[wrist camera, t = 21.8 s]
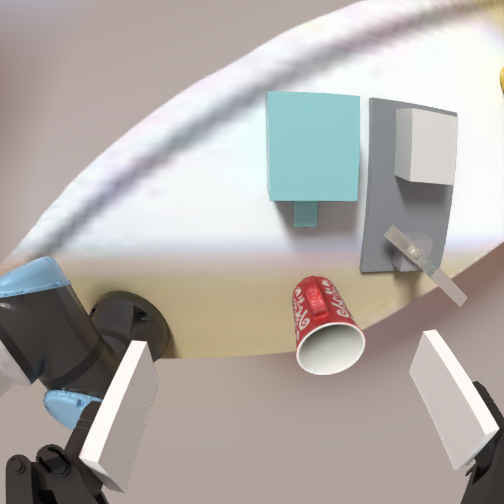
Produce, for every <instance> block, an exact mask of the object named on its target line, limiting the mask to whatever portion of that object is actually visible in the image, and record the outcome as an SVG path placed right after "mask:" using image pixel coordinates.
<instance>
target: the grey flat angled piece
mask: <svg viewBox="0 0 504 504" xmlns="http://www.w3.org/2000/svg"><path fill="white" fill-rule="evenodd" d="M384 236H385V237H386V238H387V239H388V240H389V241H390V242H392V243H393V244H394V245H395V246H396V247H397V248H398V249H400V250H401V251H402V252H403V253H404V254H405V255H406V256H407V257H409V258H410V259H411V260H412V261H413V262H414V263H415V264H417V265H418V266H419V267H420V268H421V269H422V270H423V271H424V272H425V273H426V274H427V275H428V276H429V277H430V278H431V279H432V280H433V281H434V282H435V283H436V284H437V285H438V286H439V287H440V288H441V289H442V290H443V291H444V292H445V293H446V294H448V296H449V297H451V299H452V300H453V301H455V302H456V304H457V305H459V307H460V306H461V305H462V304H463V303H464V302H465V300H466V299H467V297H466V295H465V294H464V293H463V292H462V291H461V290H460V289H459V288H458V287H457V286H456V285H455V284H454V283H453V282H452V280H451V279H450V278H449V277H448V276H447V275H446V274H445V273H444V272H443V271H442V270H441V269H440V268H439V267H438V266H437V265H436V264H435V263H433V262H432V261H431V260H430V259H429V258H428V257H427V256H426V255H425V254H424V253H423V252H422V251H421V250H420V249H419V248H418V247H417V246H416V245H415V244H414V243H413V242H412V241H411V240H409V239H408V238H407V237H406V236H405V235H404V234H403V233H402V232H401V231H400V230H399V229H398V228H396V227H395V226H394V225H393V224H392V226H391V227H390V228H389V229H388V231H387V232H386V233H385V234H384Z"/></svg>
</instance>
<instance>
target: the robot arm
mask: <svg viewBox="0 0 504 504" xmlns="http://www.w3.org/2000/svg"><path fill="white" fill-rule="evenodd" d="M168 337H169V333H168V328H167V324H166V322H165V320H164V318H163V316H162V315H161V314H160V312H159V311H158V310H157V309H156V308H155V307H154V306H153V305H152V304H151V303H149V302H148V301H147V300H145V299H144V298H142V297H140V296H138V295H135V294H132V293H129V292H123V291H114V292H109V293H107V294H105V295H103V296H102V297H100V298H99V299H98V301H97V302H96V303H95V304H94V306H93V307H92V309H91V311H90V314H89V315H88V314H87V312H86V311H85V309H84V307H83V305H82V304H81V302H80V300H79V299H78V297H77V295H76V293H75V291H74V290H73V288H72V286H71V282H70V280H68V279H67V278H66V276H65V275H64V273H63V271H62V270H61V268H60V266H59V264H58V263H57V262H56V260H54V259H53V258H51V257H41V258H38V259H36V260H33V261H31V262H29V263H27V264H24V265H22V266H20V267H18V268H16V269H14V270H12V271H10V272H8V273H6V274H4V275H2V276H0V398H1V397H2V396H3V395H4V394H5V392H7V391H8V390H9V389H10V388H11V387H12V385H16V384H19V385H25V386H30V385H32V383H33V382H34V381H35V380H37V378H38V379H39V380H40V381H41V382H42V384H43V385H44V386H45V387H46V388H47V390H48V392H46V393H45V394H44V405H45V408H46V410H47V411H48V412H49V414H51V416H53V418H55V419H56V420H57V421H58V422H60V423H61V424H63V425H64V426H66V427H67V428H69V429H71V430H73V432H72V434H71V436H70V439H69V441H68V443H67V445H66V447H65V450H63V449H62V448H61V447H59V446H58V445H54V444H50V445H46V446H44V447H42V448H41V449H40V450H39V451H38V452H37V456H36V462H31V461H30V460H29V459H28V458H27V457H25V456H24V455H14V456H12V457H11V458H10V459H9V460H8V462H7V465H6V504H109V503H108V501H107V499H106V497H105V495H104V493H103V492H102V491H101V488H102V485H103V484H104V485H105V486H106V487H107V488H108V489H110V490H114V491H118V492H122V493H126V490H127V487H128V483H129V479H130V476H131V472H132V469H133V465H134V462H135V458H136V455H137V451H138V448H139V444H140V441H141V438H142V435H143V431H144V428H145V425H146V422H147V418H148V415H149V412H150V409H151V406H152V403H153V400H154V396H155V393H156V390H157V387H158V384H159V380H158V377H157V374H156V371H155V367H154V364H153V363H154V362H155V361H156V360H157V359H159V358H160V357H161V355H162V354H163V352H164V350H165V348H166V345H167V342H168ZM409 373H410V375H411V376H412V378H413V380H414V383H415V385H416V387H417V389H418V391H419V393H420V394H421V397H422V399H423V400H424V403H425V405H426V407H427V409H428V411H429V414H430V416H431V418H432V420H433V422H434V424H435V426H436V429H437V431H438V433H439V435H440V438H441V440H442V442H443V445H444V447H445V449H446V452H447V454H448V457H449V459H450V461H451V464H452V466H453V469H454V470H457V469H459V468H462V467H464V466H467V465H468V464H469V463H470V462H471V461H472V460H473V459H474V458H475V460H476V463H475V464H474V465H473V466H472V467H471V468H470V470H469V471H467V473H466V476H467V475H469V473H471V472H472V473H471V476H470V480H469V482H468V485H467V488H466V491H465V493H464V496H463V499H462V501H461V504H504V418H503V416H502V414H501V412H500V411H499V409H498V407H497V406H496V404H495V403H494V401H493V399H492V398H491V397H490V395H489V393H488V392H487V390H486V388H485V387H484V386H482V385H481V384H480V383H479V382H478V381H475V382H471V381H470V379H469V377H468V376H467V374H466V373H465V371H464V370H463V368H462V367H461V365H460V364H459V362H458V361H457V359H456V358H455V357H454V355H453V354H452V352H451V351H450V349H449V348H448V346H447V345H446V343H445V342H444V340H443V339H442V338H441V336H440V335H439V333H438V332H437V331H436V330H430V331H424V332H423V334H422V337H421V340H420V343H419V346H418V349H417V352H416V355H415V357H414V360H413V362H412V365H411V368H410V371H409Z"/></svg>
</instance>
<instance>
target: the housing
mask: <svg viewBox="0 0 504 504" xmlns="http://www.w3.org/2000/svg"><path fill="white" fill-rule="evenodd" d="M457 127H458V117H457V113H455V112H450V111H446V110H442V109H437V108H432V107H427V106H422V105H417V104H411V103H406V102H399V101H393V100H386V99H379V98H369V165H368V185H367V200H366V213H365V224H364V235H363V244H362V253H361V261H360V270H361V272H376V271H400V272H403V271H423V270H422V269H421V268H420V267H419V266H418V265H417V264H415V263H414V262H413V261H412V260H411V259H410V258H409V257H407V256H406V255H405V254H404V253H403V252H402V251H401V250H400V249H398V248H397V247H396V246H395V245H394V244H393V243H392V242H390V241H389V240H388V239H387V238H386V237H385V236H384V234H385V233H386V232H387V231H388V229H389V228H390V227H391V226H392V224H393V225H394V226H395V227H396V228H398V229H399V230H400V231H401V232H402V233H403V234H404V235H405V236H406V237H407V238H408V239H409V240H411V241H412V242H413V243H414V244H415V245H416V246H417V247H418V248H419V249H420V250H421V251H422V252H423V253H424V254H425V255H426V256H427V257H428V258H429V259H430V260H431V261H432V262H433V263H435V264H436V265H437V266H438V267H439V268H440V264H441V260H442V255H443V250H444V245H445V240H446V234H447V229H448V222H449V216H450V209H451V202H452V194H453V185H454V179H455V168H456V154H457Z"/></svg>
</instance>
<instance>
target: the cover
mask: <svg viewBox="0 0 504 504" xmlns="http://www.w3.org/2000/svg"><path fill="white" fill-rule="evenodd" d="M265 107H266V150H267V188H268V193H269V198H270V201H294V226H295V227H317V211H318V201H357V199H358V182H359V157H360V96H352V95H341V94H327V93H309V92H268V93H267V96H266V99H265Z"/></svg>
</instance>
